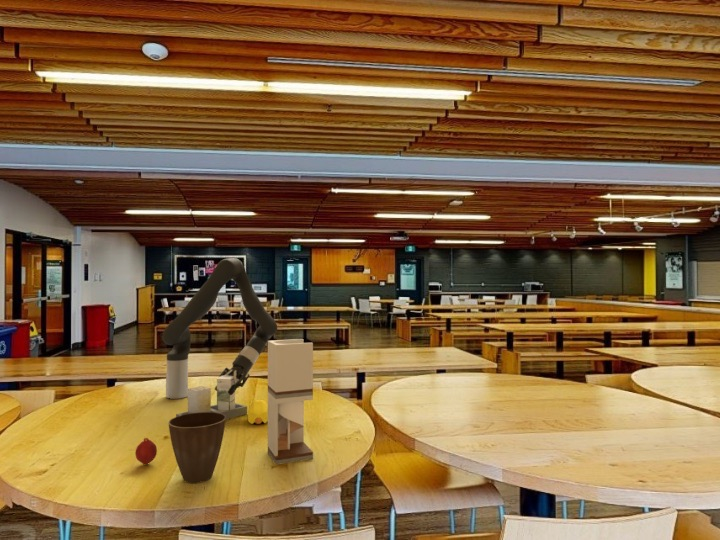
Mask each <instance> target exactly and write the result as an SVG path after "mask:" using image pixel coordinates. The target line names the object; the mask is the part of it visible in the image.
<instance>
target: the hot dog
mask: <svg viewBox="0 0 720 540" xmlns="http://www.w3.org/2000/svg"><path fill="white" fill-rule="evenodd" d="M249 403H250V404H249V406H248V410H247V421H248V422H249V424H250V425H254V424H256V425H261V424H262V423H263V424H266V423H268V402H266V401H265V400H263V399H259V400H257V399H253V400H252V401H251V402H249Z"/></svg>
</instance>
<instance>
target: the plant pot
mask: <svg viewBox="0 0 720 540" xmlns="http://www.w3.org/2000/svg"><path fill="white" fill-rule="evenodd" d="M225 419H226V416H225V415H223V414H221V413H215V412H198V413H190V414H185V415H181V416H177V417H176V416H175V417H172V418H171V419H169V421H168V430H169V436H170V441H171V446H172V449H173V450H172V451H173V454H174V457H175V458H174V459H175V461H176V463H177V467H178V469H179V473H180V474H181V477H182V479H183V481H184V482H185V481H186V482H185V483H188V482H190V484H197V483H198V482H199V483H204V482H206V481H208V480H210V479H211V478H212V477H213V474H214V472H215V469H216V466H217V463H218V460H219V457H220V456H219V455H220V452H221V448H222V443H223V440H224V433H225V426H226V420H225ZM203 481H204V482H203ZM199 483H198V484H199Z"/></svg>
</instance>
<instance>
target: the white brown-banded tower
mask: <svg viewBox="0 0 720 540" xmlns="http://www.w3.org/2000/svg"><path fill="white" fill-rule="evenodd" d="M313 400H314V343H313V342H304V339H303V338H293V339H277V340H276V339H275V340H268V341H267V409H268V421H267V453H268V456H269V457H270V458H271V460H272V462H273V463H274V464H275V465H276V464H277V465H282V464H287V463H288V464H289V463H294V462H295V463H296V462H301V460H302V461H308V460H313V459H314V452H313V450H312V449H311V448H310V447H309V446H308V445H307V444H306V442H305V441H304V438H305V437H304V436H305V434H304V433H305V432H304V427H305V426H304V424H305V423H304V419H305V418H304V410H305V409H304V406H305V405H304V402H306V401H313ZM307 459H308V460H307Z"/></svg>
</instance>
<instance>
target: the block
mask: <svg viewBox="0 0 720 540" xmlns="http://www.w3.org/2000/svg"><path fill="white" fill-rule="evenodd" d="M211 391H212V389H211V387H208V386H203V385H200V386H195V387H191V388H189V387H188V396H187V412H188V414H190V413H198V412H211V406H212V397H211V395H212V392H211Z"/></svg>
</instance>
